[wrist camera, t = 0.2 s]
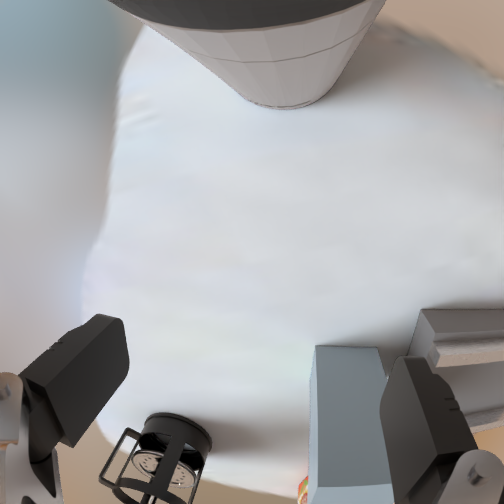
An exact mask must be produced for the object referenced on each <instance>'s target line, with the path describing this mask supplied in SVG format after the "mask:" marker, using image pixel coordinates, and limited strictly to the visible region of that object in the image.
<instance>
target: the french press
mask: <svg viewBox="0 0 504 504" xmlns="http://www.w3.org/2000/svg"><path fill="white" fill-rule="evenodd" d="M155 433H160V434H165V435H168V436H172V437H171V439H170V442H169V444H168V445H166V444H164V443H163V442H162V441H160V440H159V439H158V438H157V436H156V435H155ZM126 436H130V437H132V438H133V439H135V440H137V442H136V444H135V446H134V448H133V449H132V451H131V453H130V455H129V457H128V459H127V461H126V463H125V465H124V467H123V469H122V471H121V473H120V475H119V476H118V478H117V480H116V482H115V484H114V483H112V482H110V481H108V480H106V479H105V478H103V477H104V475H105V473H106V472H107V470H108V468H109V466H110V464H111V462H112V461H113V458H114V457H115V455H116V453H117V451H118V450H119V448H120V446H121V444H122V443H123V441H124V439H125V437H126ZM185 443H187V444H189V445H190V446H192V447H193V448H194V449H196V451H183V448H184V445H185ZM138 444H139V446H140V448H141V450H138V451H136V452H135V453H134V451H135V449H136V447H137V445H138ZM211 448H212V440H211V437H210V436H209V434H208V433H207V432H206V431H205V430H204V429H203V428H202V427H201V426H199V425H198V424H196V423H195V422H193V421H191V420H189V419H187V418H185V417H182V416H179V415H175V414H171V413H155V414H152V415H150V416H149V417H148V418H147V419H146V421H145V424H144V428H143V430H142V432H141V434H140V433H139V432H137V431H135V430H133V429H131V428H128V427H127V428H126V429H125V431H124V432H123V434H122V436H121V438H120V439H119V441H118V443H117V445H116V446H115V448H114V450H113V452H112V453H111V455H110V457H109V459H108V461H107V462H106V464H105V466H104V468H103V469H102V471H101V473H100V475H99V482H100V483H101V484H103V485H105V486H107V487H109V488H111V489H112V492H113V493H114V495H115V496H116V497H117V498H118V499H119V500H120V501H121V502H123V503H124V504H155V503H156V500H157V498H159V499H161V500H163V501H165V502H167V503H169V504H186V502H185V501H183V500H182V499H181V498H179V497H177V496H176V495H174V494H172V493H170V492H169V491H167V490H168V487H169V486H171V487H177V488H188V487H192V486H193V489H192V492H191V496H190V499H189V502H188V504H192V502H193V499H194V496H195V493H196V490H197V487H198V483H199V480H200V477H201V474H202V471H203V468H204V465H205V461H206V458H207V455H208V452H210V450H211ZM133 453H134V454H133ZM130 459H131V460H132V463H133V464H134V466H135V467H136V468H137V469H138V470H139V471H140V472H141V473H143V474H144V475H145V476H147V477H149V478H150V482H149V483H147V482H144V481H141V480H137V479H132V478H121V477H122V475H123V473H124V471H125V469H126V467H127V465H128V463H129V461H130ZM197 470H199V471H198V474H197V477H196V474H195V472H194V471H197ZM120 487H126V488H131V489H134V490H138V491H141V492H144V495H143V498H142V500H141V502H140V503H139V502H137V501H135V500H134V499H132V498H131V497H129V496H128V495H127V494H125V493H124V492H123V491H122V490H121V489H120Z"/></svg>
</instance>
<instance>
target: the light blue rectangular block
mask: <svg viewBox="0 0 504 504" xmlns="http://www.w3.org/2000/svg"><path fill="white" fill-rule="evenodd" d="M386 385H387V379H386V376H385V372H384V369H383V366H382V362H381V359H380V356H379V353H378V350H377V347H335V346H315V351H314V358H313V364H312V370H311V376H310V434H309V471H308V494H307V504H393V503H394V495H393V488H392V482H391V475H390V469H389V463H388V457H387V451H386V446H385V441H384V435H383V430H382V425H381V420H380V413H379V410H380V402H381V398H382V395H383V392H384V390H385V387H386Z"/></svg>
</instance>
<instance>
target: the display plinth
mask: <svg viewBox="0 0 504 504" xmlns="http://www.w3.org/2000/svg"><path fill="white" fill-rule="evenodd" d="M407 356H416V357H424V358H425V359H426V361H427V363H428V365H429V367H430V369H431V371H432V373H433V374H438V375H439V376H441V377H442V378H443V379H444V380H445V381H446V382H447V383H448V384H449V385H450V387H451V389H452V391H453V394H454V396H455V400H457V402H458V404H459V406H460V411H462V412H463V415H464V417H465V419H466V421H467V423H468V426H469V428H470V430H471V433H476V432H480V431H485V430H489V429H493V428H497V427H501V426H504V309H478V310H420V314H419V318H418V321H417V325H416V328H415V332H414V335H413V338H412V342H411V345H410V348H409V351H408V354H407Z"/></svg>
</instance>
